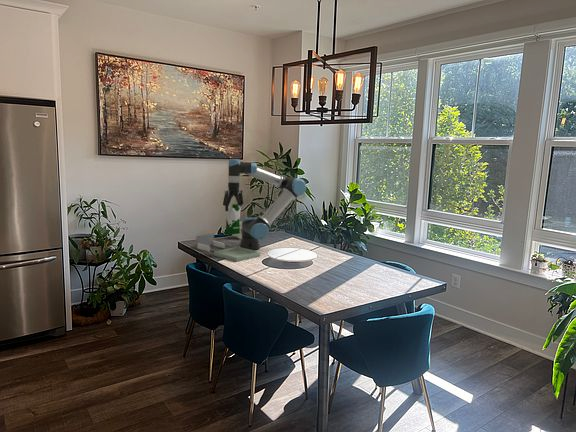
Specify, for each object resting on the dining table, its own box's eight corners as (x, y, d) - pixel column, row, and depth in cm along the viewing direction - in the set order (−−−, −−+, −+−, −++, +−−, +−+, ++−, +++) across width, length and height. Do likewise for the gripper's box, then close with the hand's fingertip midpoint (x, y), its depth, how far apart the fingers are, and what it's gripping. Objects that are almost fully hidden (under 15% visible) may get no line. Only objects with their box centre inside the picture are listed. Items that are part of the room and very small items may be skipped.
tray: (259, 256, 288) (260, 252, 288) (236, 262, 271) (236, 257, 271) (237, 250, 302) (237, 246, 302) (214, 255, 285) (214, 251, 285)
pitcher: (227, 238, 343) (227, 221, 341) (246, 236, 354) (246, 220, 352) (234, 240, 334) (234, 223, 332) (253, 238, 345) (253, 222, 343)
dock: (225, 248, 309) (225, 236, 307) (208, 251, 297) (208, 238, 295) (212, 244, 317) (212, 233, 316) (196, 248, 305) (196, 235, 304)
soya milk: (231, 235, 281) (232, 205, 278) (223, 232, 287) (223, 203, 284) (241, 233, 288) (242, 204, 285) (233, 231, 294) (233, 203, 291)
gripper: (242, 181, 293) (241, 213, 296) (217, 182, 277) (216, 215, 280) (249, 182, 288) (248, 214, 291) (224, 182, 272) (224, 217, 275)
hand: (233, 215), depth 286 cm, fingers closed on soya milk, 9 cm apart
